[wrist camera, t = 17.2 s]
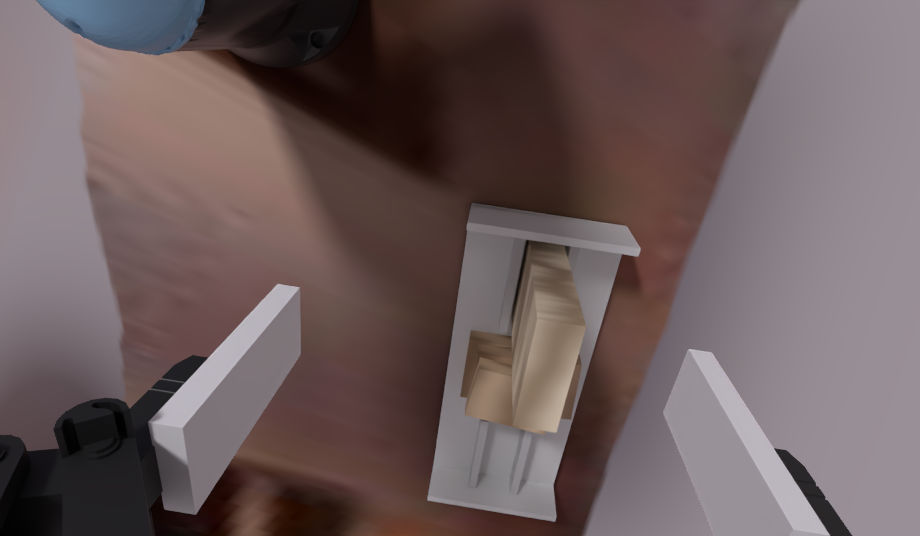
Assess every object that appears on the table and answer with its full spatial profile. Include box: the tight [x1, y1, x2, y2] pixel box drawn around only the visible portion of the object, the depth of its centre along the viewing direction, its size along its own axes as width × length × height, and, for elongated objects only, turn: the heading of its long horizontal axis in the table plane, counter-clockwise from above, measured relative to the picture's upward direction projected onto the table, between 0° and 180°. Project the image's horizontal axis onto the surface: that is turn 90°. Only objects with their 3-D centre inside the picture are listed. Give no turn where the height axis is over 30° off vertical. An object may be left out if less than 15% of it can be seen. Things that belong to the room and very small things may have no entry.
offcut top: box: [464, 357, 546, 435], centre depth 53 cm, size 9×6×2 cm
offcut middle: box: [476, 344, 582, 420], centre depth 55 cm, size 11×7×2 cm
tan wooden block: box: [511, 240, 586, 433], centre depth 45 cm, size 4×10×17 cm, turn 172°
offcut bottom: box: [460, 330, 512, 398], centre depth 56 cm, size 12×8×2 cm, turn 82°
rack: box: [427, 203, 641, 522], centre depth 56 cm, size 16×37×6 cm, turn 172°
